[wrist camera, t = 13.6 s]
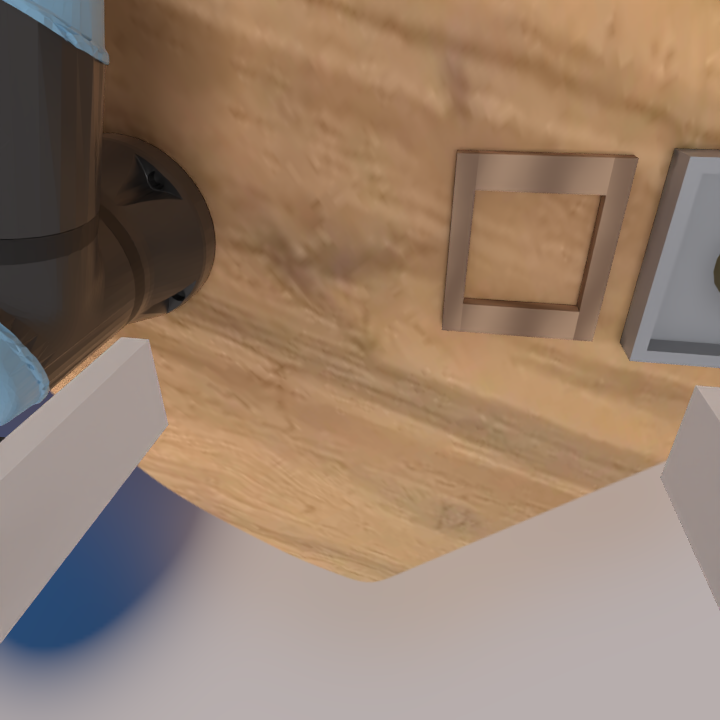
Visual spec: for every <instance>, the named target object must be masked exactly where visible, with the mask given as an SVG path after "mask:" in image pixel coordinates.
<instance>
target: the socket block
mask: <svg viewBox="0 0 720 720" xmlns="http://www.w3.org/2000/svg"><path fill="white" fill-rule="evenodd" d="M638 159H639V158H637V157H636V156H634V155H611V154H576V153H542V152H507V151H472V150H458V152H457V163H456V174H455V186H454V197H453V208H452V220H451V231H450V243H449V254H448V265H447V277H446V288H445V300H444V311H443V322H442V330H447V331H460V332H474V333H487V334H500V335H513V336H527V337H540V338H553V339H566V340H579V341H593V337H594V333H595V329H596V325H597V321H598V317H599V313H600V309H601V305H602V301H603V297H604V294H605V290H606V286H607V282H608V278H609V274H610V270H611V266H612V262H613V258H614V254H615V250H616V246H617V242H618V238H619V234H620V230H621V226H622V222H623V218H624V214H625V210H626V206H627V202H628V198H629V194H630V191H631V187H632V183H633V179H634V175H635V171H636V167H637V163H638ZM475 190H481V191H507V192H532V193H558V194H584V195H602V196H601V201H600V205H599V209H598V214H597V218H596V223H595V227H594V231H593V236H592V240H591V245H590V249H589V253H588V258H587V262H586V267H585V271H584V276H583V280H582V284H581V289H580V293H579V298H578V302H577V306H575V305H561V304H546V303H531V302H516V301H501V300H486V299H471V298H464V290H465V281H466V272H467V262H468V253H469V244H470V235H471V225H472V216H473V207H474V197H475Z"/></svg>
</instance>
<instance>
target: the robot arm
mask: <svg viewBox="0 0 720 720" xmlns="http://www.w3.org/2000/svg"><path fill="white" fill-rule="evenodd" d="M106 65H109V54H108V53H107V51H106V50H105V26H104V0H0V426H1V425H4V424H6V423H7V422H9V421H10V420H12V419H13V418H14V417H16V416H17V415H19V414H20V413H22V412H23V411H25V410H26V409H28V408H29V407H31V406H32V405H34V404H38V403H40V402H41V401H42V400H44V399H45V398H46V396H47V395H48V394H49V393H48V392H49V391H50V390H51V389H52V388H53V387H54V386H55V385H57V384H58V383H59V382H60V381H61V380H62V379H64V378H65V377H66V376H67V375H68V374H69V373H71V372H72V371H73V370H74V369H75V368H76V367H78V366H79V365H80V364H81V363H82V362H84V361H85V360H86V359H87V358H88V357H89V356H91V355H92V354H93V353H94V352H95V351H96V350H98V349H99V348H100V347H101V346H102V345H103V344H105V343H106V342H107V341H108V340H109V339H110V338H112V337H113V336H114V335H115V334H116V333H117V332H119V331H120V330H121V329H122V328H123V327H124V326H125V325H127V324H130V323H134V322H138V321H142V320H146V319H150V318H154V317H158V316H161V315H165V314H167V313H169V312H172V311H174V310H175V309H177V308H179V307H180V306H182V305H183V304H184V303H186V302H187V301H188V300H189V299H190V298H191V297H192V296H193V295H194V294H195V293H196V292H197V291H198V290H199V289H200V288H201V287H202V286H203V284H204V283H205V281H206V279H207V278H208V276H209V273H210V271H211V268H212V265H213V260H214V254H215V236H214V229H213V224H212V220H211V217H210V214H209V211H208V208H207V206H206V203H205V201H204V199H203V197H202V195H201V194H200V192H199V190H198V189H197V187H196V185H195V184H194V183H193V181H192V180H191V179H190V177H189V176H188V175H187V174H186V173H185V171H184V170H183V169H182V168H181V167H180V166H179V165H178V164H177V163H176V162H175V161H173V160H172V159H171V158H170V157H169V156H167V155H166V154H165V153H163V152H162V151H160V150H159V149H157V148H156V147H154V146H152V145H150V144H148V143H146V142H144V141H142V140H139V139H137V138H134V137H131V136H127V135H122V134H115V133H103V114H104V92H105V69H106ZM167 426H168V421H167V417H166V412H165V408H164V404H163V399H162V395H161V390H160V386H159V382H158V377H157V373H156V369H155V364H154V360H153V356H152V351H151V347H150V342H149V339H138V338H126V337H121V338H120V339H119V340H117V341H116V342H115V343H114V344H113V345H112V346H111V347H109V348H108V349H107V350H106V351H105V352H104V353H102V354H101V355H100V356H99V357H98V358H97V359H96V360H94V361H93V362H92V363H91V364H90V365H89V366H88V367H86V368H85V369H84V370H83V371H82V372H81V373H79V374H78V375H77V376H76V377H75V378H74V379H73V380H71V381H70V382H69V383H68V384H67V385H66V386H65V387H63V388H62V389H61V390H60V391H59V392H58V393H56V394H55V395H54V396H53V397H52V398H51V399H50V400H48V401H47V402H46V403H45V404H44V405H43V406H42V407H40V408H39V409H38V410H37V411H36V412H35V413H33V414H32V415H31V416H30V417H29V418H28V419H27V420H25V421H24V422H23V423H22V424H21V425H20V426H19V427H17V428H16V429H15V430H14V431H13V432H12V433H11V434H9V435H8V436H7V437H6V438H5V437H0V643H1V642H2V641H3V640H4V638H5V637H6V636H7V634H8V633H9V632H10V630H11V629H12V628H13V626H14V625H15V624H16V623H17V621H18V620H19V619H20V617H21V616H22V615H23V613H24V612H25V611H26V610H27V608H28V607H29V606H30V604H31V603H32V602H33V600H34V599H35V598H36V597H37V595H38V594H39V593H40V591H41V590H42V589H43V587H44V586H45V585H46V583H47V582H48V581H49V580H50V578H51V577H52V576H53V574H54V573H55V572H56V570H57V569H58V568H59V566H60V565H61V564H62V563H63V561H64V560H65V559H66V557H67V556H68V555H69V554H70V552H71V551H72V550H73V548H74V547H75V546H76V544H77V543H78V542H79V540H80V539H81V538H82V537H83V535H84V534H85V532H86V531H87V530H88V529H89V527H90V526H91V525H92V523H93V522H94V521H95V520H96V518H97V517H98V516H99V514H100V513H101V512H102V510H103V509H104V508H105V507H106V505H107V504H108V503H109V501H110V500H111V499H112V497H113V496H114V495H115V494H116V492H117V491H118V490H119V488H120V487H121V486H122V484H123V483H124V482H125V480H126V479H127V478H128V477H129V475H130V474H131V473H132V471H133V470H134V469H135V467H136V466H137V465H138V464H139V462H140V461H141V460H142V458H143V457H144V456H145V454H146V453H147V452H148V451H149V449H150V448H151V447H152V445H153V444H154V443H155V441H156V440H157V439H158V437H159V436H160V435H161V434H162V432H163V431H164V430H165V428H166V427H167ZM661 480H662V482H663V485H664V487H665V489H666V491H667V493H668V496H669V498H670V500H671V502H672V504H673V507H674V509H675V511H676V514H677V516H678V518H679V520H680V523H681V525H682V527H683V529H684V531H685V534H686V536H687V538H688V540H689V542H690V545H691V547H692V549H693V552H694V554H695V556H696V558H697V560H698V563H699V565H700V567H701V569H702V572H703V574H704V576H705V578H706V581H707V583H708V585H709V587H710V589H711V591H712V594H713V596H714V598H715V601H716V603H717V605H718V607H719V610H720V387H708V386H695V388H694V391H693V394H692V396H691V399H690V401H689V404H688V407H687V409H686V412H685V415H684V417H683V420H682V422H681V425H680V428H679V430H678V433H677V435H676V438H675V441H674V443H673V446H672V449H671V451H670V454H669V456H668V459H667V462H666V464H665V467H664V470H663V472H662V475H661Z"/></svg>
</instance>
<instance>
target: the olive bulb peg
mask: <svg viewBox="0 0 720 720" xmlns="http://www.w3.org/2000/svg"><path fill="white" fill-rule="evenodd" d="M713 273H714V283H715V285H716V287H717V289H718V291H719V292H720V255H719V257H718V258H717V261H716V264H715V267H714V271H713Z"/></svg>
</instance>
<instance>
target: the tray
mask: <svg viewBox="0 0 720 720" xmlns="http://www.w3.org/2000/svg"><path fill="white" fill-rule="evenodd" d="M719 255H720V150H712V149H674V153H673V157H672V160H671V164H670V167H669V171H668V174H667V178H666V181H665V185H664V188H663V192H662V195H661V199H660V203H659V206H658V210H657V213H656V217H655V220H654V224H653V227H652V231H651V234H650V238H649V241H648V245H647V249H646V252H645V256H644V259H643V263H642V266H641V270H640V273H639V277H638V280H637V284H636V287H635V291H634V295H633V298H632V302H631V305H630V309H629V312H628V316H627V319H626V323H625V326H624V330H623V333H622V337H621V341H620V343H621V345H622V347H623V349H624V351H625V353H626V355H627V357H628V359H629V361H638V362H651V363H664V364H676V365H689V366H701V367H714V368H720V292H719V291H718V289H717V287H716V285H715V283H714V273H713V271H714V267H715V264H716V261H717V258H718V257H719Z"/></svg>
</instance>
